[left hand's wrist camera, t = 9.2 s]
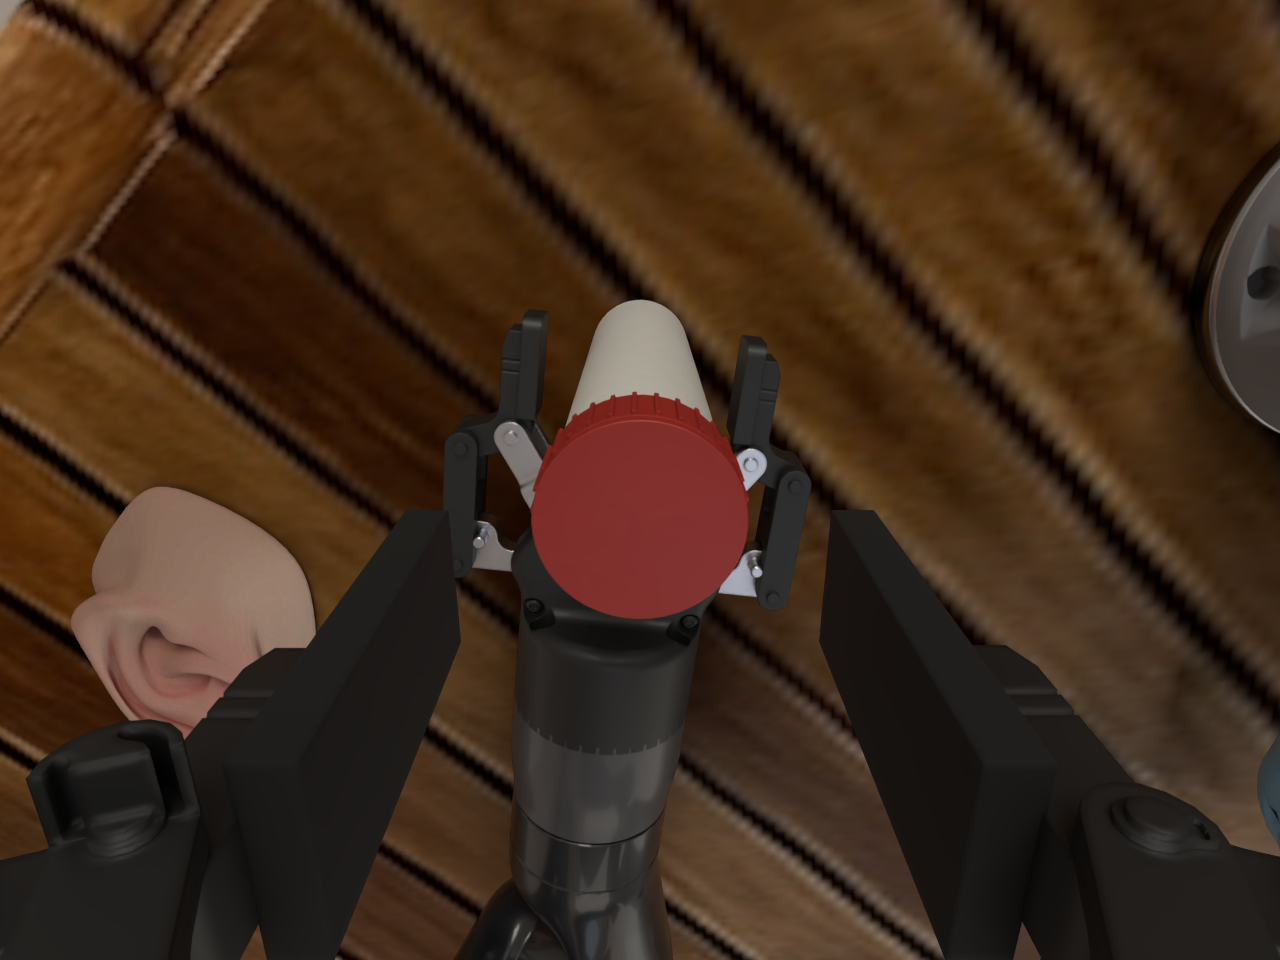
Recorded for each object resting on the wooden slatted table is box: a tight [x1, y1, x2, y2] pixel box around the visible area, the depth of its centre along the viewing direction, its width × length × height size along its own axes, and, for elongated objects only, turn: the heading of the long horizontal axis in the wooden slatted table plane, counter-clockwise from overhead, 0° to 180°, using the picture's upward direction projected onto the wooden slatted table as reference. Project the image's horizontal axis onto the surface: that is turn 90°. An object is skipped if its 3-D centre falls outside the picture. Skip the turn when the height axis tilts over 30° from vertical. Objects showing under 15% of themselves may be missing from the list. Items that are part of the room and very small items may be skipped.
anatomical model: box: [71, 487, 316, 740], centre depth 38 cm, size 13×4×12 cm
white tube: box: [565, 300, 712, 427], centre depth 26 cm, size 4×4×19 cm
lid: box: [530, 392, 749, 619], centre depth 18 cm, size 5×5×2 cm
